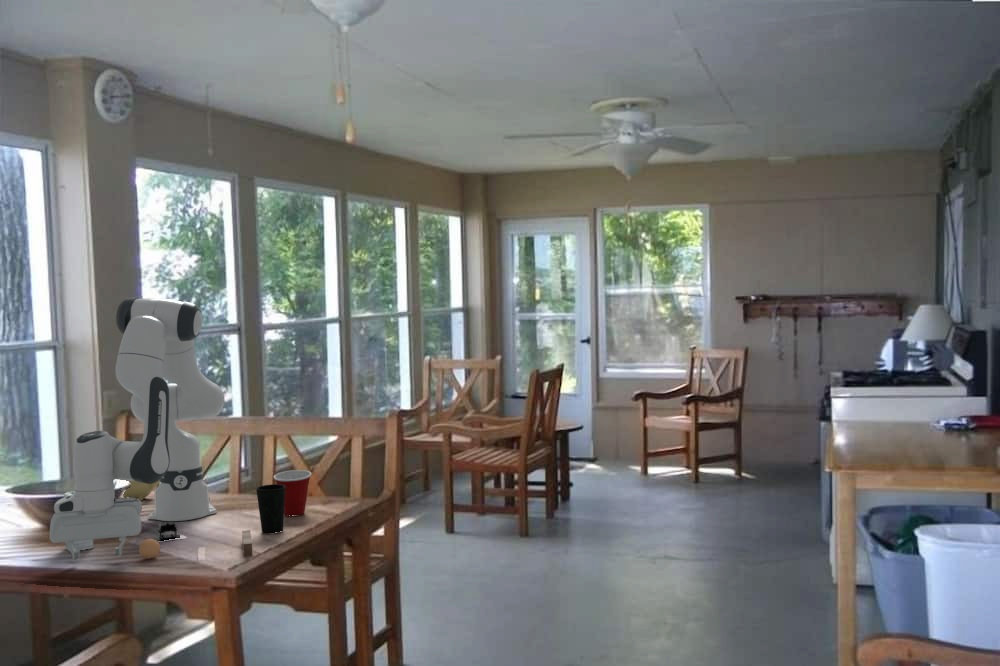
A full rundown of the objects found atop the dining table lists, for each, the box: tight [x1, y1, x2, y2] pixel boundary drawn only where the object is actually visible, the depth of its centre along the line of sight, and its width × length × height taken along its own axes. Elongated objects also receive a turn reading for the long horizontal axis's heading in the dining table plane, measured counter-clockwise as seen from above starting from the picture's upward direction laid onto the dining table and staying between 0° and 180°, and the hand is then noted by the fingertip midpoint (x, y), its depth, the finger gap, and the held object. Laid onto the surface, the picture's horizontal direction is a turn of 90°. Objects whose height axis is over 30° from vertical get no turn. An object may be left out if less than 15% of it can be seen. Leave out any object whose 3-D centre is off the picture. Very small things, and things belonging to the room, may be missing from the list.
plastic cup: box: [273, 469, 312, 517], centre depth 271 cm, size 11×11×12 cm
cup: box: [255, 483, 286, 534], centre depth 252 cm, size 8×8×12 cm
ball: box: [138, 538, 161, 560], centre depth 229 cm, size 5×5×5 cm
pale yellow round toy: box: [122, 480, 161, 502], centre depth 299 cm, size 10×12×11 cm
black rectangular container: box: [151, 521, 180, 543], centre depth 248 cm, size 12×7×5 cm, turn 118°
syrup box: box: [63, 490, 95, 552], centre depth 239 cm, size 6×6×14 cm
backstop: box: [241, 529, 253, 557], centre depth 235 cm, size 14×2×3 cm, turn 17°
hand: (97, 556), depth 225 cm, fingers open, 8 cm apart
